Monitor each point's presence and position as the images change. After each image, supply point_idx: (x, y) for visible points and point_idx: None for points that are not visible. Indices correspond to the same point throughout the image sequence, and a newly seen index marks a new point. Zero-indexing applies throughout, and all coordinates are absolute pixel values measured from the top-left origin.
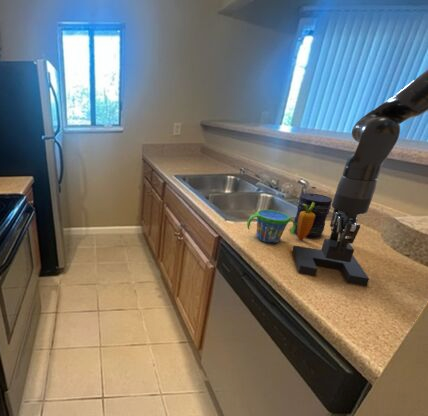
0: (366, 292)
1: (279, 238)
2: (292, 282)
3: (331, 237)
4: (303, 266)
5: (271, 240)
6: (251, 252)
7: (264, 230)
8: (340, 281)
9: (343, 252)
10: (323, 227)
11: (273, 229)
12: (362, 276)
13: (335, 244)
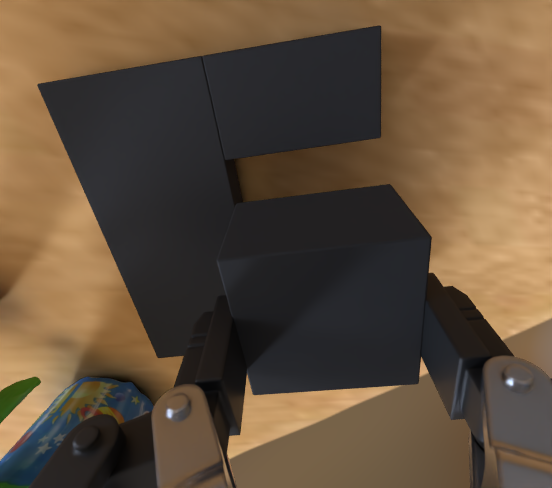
0: (442, 41)
1: (111, 397)
2: None
3: (245, 379)
4: None
5: (147, 409)
6: (282, 431)
7: None
8: (371, 159)
9: (460, 293)
10: None
11: None
12: (366, 67)
13: (361, 350)
